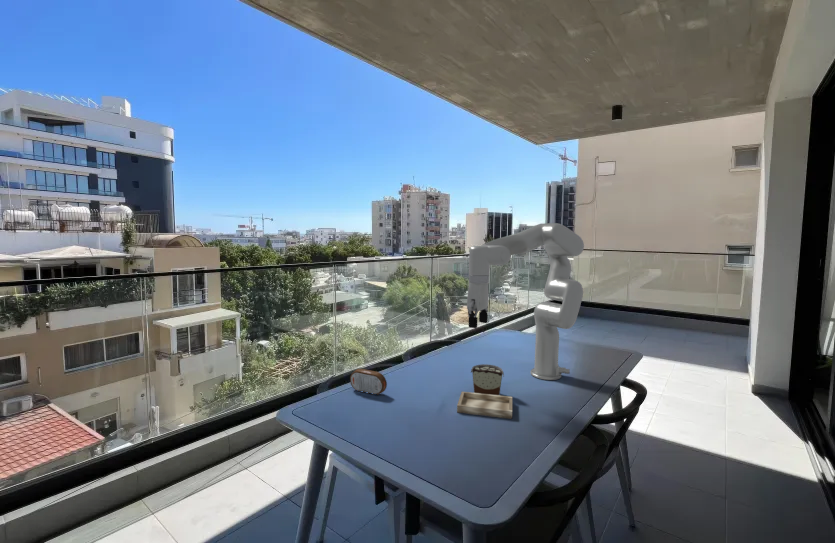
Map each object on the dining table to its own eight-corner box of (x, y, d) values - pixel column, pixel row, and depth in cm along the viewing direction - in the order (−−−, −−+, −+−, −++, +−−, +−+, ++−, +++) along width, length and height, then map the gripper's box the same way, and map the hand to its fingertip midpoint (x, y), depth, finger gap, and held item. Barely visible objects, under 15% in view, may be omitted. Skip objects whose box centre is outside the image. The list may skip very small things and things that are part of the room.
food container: (505, 391, 149) (506, 366, 148) (503, 397, 143) (504, 371, 142) (473, 387, 153) (473, 362, 152) (470, 393, 147) (470, 367, 146)
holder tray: (512, 403, 138) (512, 396, 138) (512, 418, 127) (512, 411, 126) (461, 398, 142) (461, 391, 142) (457, 412, 131) (457, 405, 131)
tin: (387, 394, 145) (387, 372, 144) (383, 397, 142) (383, 375, 141) (353, 387, 151) (353, 366, 151) (348, 390, 149) (348, 369, 148)
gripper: (478, 276, 153) (477, 319, 154) (459, 281, 138) (458, 328, 140) (497, 278, 149) (496, 321, 150) (479, 282, 134) (478, 331, 136)
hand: (478, 325), depth 145 cm, fingers open, 9 cm apart
